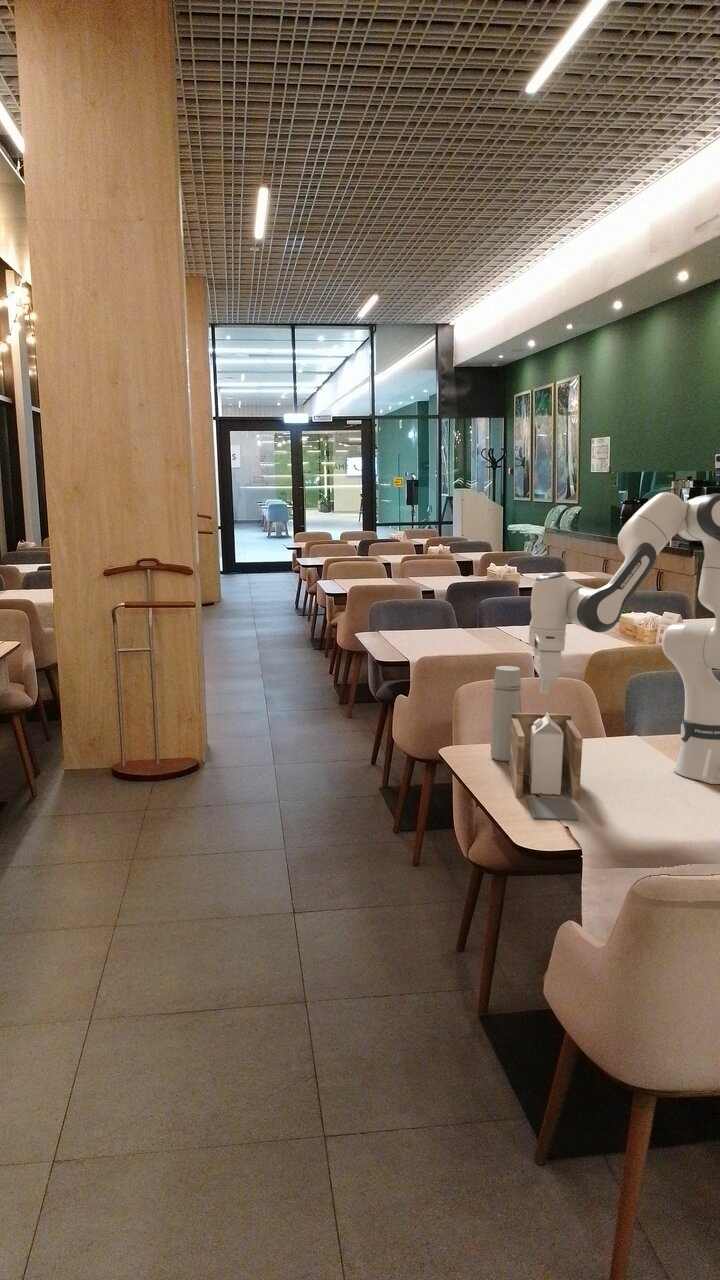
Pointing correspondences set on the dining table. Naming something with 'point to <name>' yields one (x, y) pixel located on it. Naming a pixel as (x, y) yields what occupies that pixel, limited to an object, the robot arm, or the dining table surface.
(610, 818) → the dining table surface
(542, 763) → the milk carton
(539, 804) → the mat
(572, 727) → the shelf bay
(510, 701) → the water bottle
